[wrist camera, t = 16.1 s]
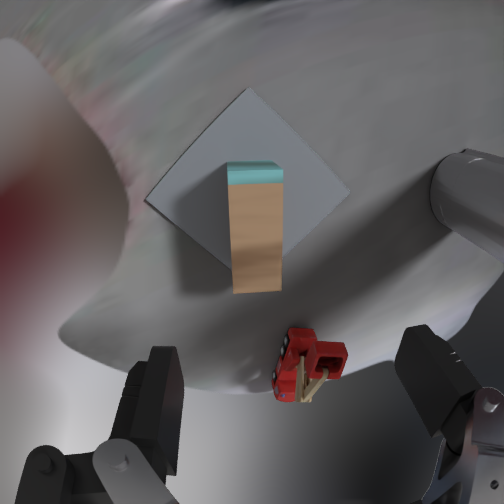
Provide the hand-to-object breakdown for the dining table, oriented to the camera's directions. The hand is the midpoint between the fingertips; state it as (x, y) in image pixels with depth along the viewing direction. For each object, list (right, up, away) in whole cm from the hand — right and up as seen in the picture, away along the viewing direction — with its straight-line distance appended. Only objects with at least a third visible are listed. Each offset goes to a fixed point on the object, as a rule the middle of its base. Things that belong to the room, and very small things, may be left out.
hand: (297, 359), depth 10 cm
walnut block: (-1, +1, +18) cm, 18 cm away
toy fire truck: (+4, -8, +27) cm, 28 cm away
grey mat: (-2, +9, +19) cm, 21 cm away
